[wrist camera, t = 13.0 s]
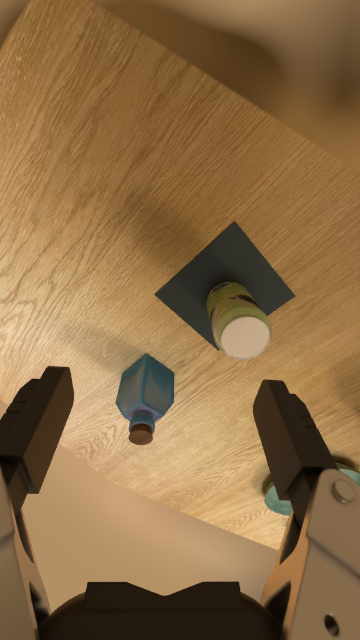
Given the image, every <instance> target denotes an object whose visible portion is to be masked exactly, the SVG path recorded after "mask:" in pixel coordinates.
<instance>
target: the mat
mask: <svg viewBox="0 0 360 640" xmlns="http://www.w3.org/2000/svg"><path fill="white" fill-rule="evenodd" d="M225 282H235V283H238V284H240V285H242V286H243V287H244V288H245V289H246V290H247V291H248V292H249V294H250V295H251V296H252V297H253V299H254V300H255V301H256V303H257V304H258V305H259V306H260V308H261V309H262V310H263V312H264V313H265V314H266V316H268V315H269V314H271V313H272V312H273V311H275V310H276V309H278V308H279V307H280V306H282V305H283V304H285V303H286V302H287V301H289V300H290V299H292V298H293V297H295V295H294V294H293V293H292V292H291V290H290V289H289V288H288V287H287V285H286V284H285V283H284V282H283V280H282V279H281V278H280V277H279V275H278V274H277V273H276V272H275V271H274V269H273V268H272V267H271V266H270V264H269V263H268V262H267V261H266V259H265V258H264V257H263V256H262V254H261V253H260V252H259V251H258V250H257V248H256V247H255V246H254V245H253V243H252V242H251V241H250V240H249V238H248V237H247V236H246V235H245V233H244V232H243V231H242V230H241V229H240V227H239V226H238V225H237V224H236V222H235V221H234V222H233V223H232V224H231V225H230V226H229V227H228V228H227V229H226V230H225V231H224V232H222V233H221V234H220V235H219V236H218V237H217V238H216V239H215V240H214V241H213V242H212V243H210V244H209V245H208V246H207V247H206V248H205V249H204V250H203V251H202V252H201V253H200V254H198V255H197V256H196V257H195V258H194V259H193V260H192V261H191V262H190V263H189V264H188V265H186V266H185V267H184V268H183V269H182V270H181V271H180V272H179V273H178V274H177V275H176V276H174V277H173V278H172V279H171V280H170V281H169V282H168V283H167V284H166V285H165V286H164V287H162V288H161V289H160V290H159V291H158V292H157V293H156V294H155V296H157V297H158V298H159V299H160V300H161V301H162V302H163V303H165V304H166V305H167V306H168V307H169V308H170V309H171V310H173V311H174V312H175V313H176V314H177V315H178V316H179V317H181V318H182V319H183V320H184V321H185V322H186V323H187V324H189V325H190V326H191V327H192V328H193V329H194V330H195V331H197V332H198V333H199V334H200V335H201V336H202V337H203V338H205V339H206V340H207V341H208V342H209V343H210V344H212V345H213V346H214V347H215V348H216V349H217V350H218V351H219V350H220V349H219V348H218V346H217V345H216V343H215V340H214V336H213V332H212V328H211V323H210V319H209V315H208V311H207V305H206V303H207V298H208V295H209V293H210V292H211V290H212V289H213V288H214V287H216V286H217V285H219V284H221V283H225Z"/></svg>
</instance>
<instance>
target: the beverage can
mask: <svg viewBox="0 0 360 640" xmlns="http://www.w3.org/2000/svg"><path fill="white" fill-rule="evenodd" d="M206 305H207V311H208V315H209V319H210V323H211V328H212V332H213V336H214V340H215V343H216V345H217V346H218V348H219V349H220V350H221V351H222V352H223V353H225V354H227V355H229V356H230V357H232V358H235V359H239V360H248V359H252V358H254V357H257V356H258V355H260V354H261V353H262V352H263V351H264V350H265V349H266V347H267V346H268V343H269V340H270V336H271V324H270V321H269V319H268V317H267V316H266V314H265V313H264V312H263V310H262V309H261V308H260V306H259V305H258V304H257V303H256V301H255V300H254V299H253V297H252V296H251V295H250V294H249V292H248V291H247V290H246V289H245V288H244V287H243V286H242V285H240V284H238V283H235V282H225V283H221V284H219V285H217V286H216V287H214V288H213V289H212V290H211V292H210V293H209V295H208V298H207V303H206Z"/></svg>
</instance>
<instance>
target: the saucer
mask: <svg viewBox="0 0 360 640" xmlns="http://www.w3.org/2000/svg"><path fill="white" fill-rule="evenodd" d="M336 465H337V467H338V469H339V470H340V471H341V472H343V473H345V474H347V475H348V476H350V477H351V478H352V479H353V480H354V481H355V482H356V483H357V484H358V485H359V486H360V472H358V471H357V470H355V469H353V468H351V467H349V466H346V465H343V464H340V463H336ZM265 504H266V506H267V507H268V508H269V509H270V510H272V511H274V512H276V513H278V514H282V515H286V516H290V513H291V511H292V510H293V508H292V505H291V502H290V501H279V499H278V496H277V492H276V489H275V486H274V482H273V480H272V482H271V483H270V484H269V486H268V488H267V490H266V493H265Z"/></svg>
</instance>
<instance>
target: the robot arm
mask: <svg viewBox="0 0 360 640" xmlns="http://www.w3.org/2000/svg"><path fill="white" fill-rule="evenodd" d="M73 401H74V389H73V384H72V378H71V372H70V368H69V367H57V366H48V367H47V368H46V369H45V371H44V373H43V375H42V376H41V378H40V379H31V380H30V381H29V382H28V383H26V384H25V385H24V386H23V387H22V388H20V390H19V391H18V393H17V394H16V396H15V398H14V399H13V402H12V403H11V404H10V405H9V407H8V409H7V410H6V413H5V414H4V415H3V416H2V418H1V420H0V640H360V486H359V485H358V484H357V483H356V482H355V481H354V480H353V479H352V478H351V477H350V476H348V475H347V474H345V473H343V472H341V471H340V470H339V469H338V467H337V465H336V463H335V461H334V459H333V458H332V456H331V454H330V452H329V450H328V448H327V446H326V444H325V442H324V440H323V438H322V436H321V434H320V432H319V430H318V429H317V428H316V425H315V423H314V421H313V419H312V418H311V415H310V413H309V411H308V409H307V407H306V405H305V404H304V403H303V402H302V401H301V400H300V399H299V398H298V397H297V396H296V394H290V393H289V391H288V389H287V387H286V385H285V383H284V382H283V381H282V380H263V381H262V383H261V386H260V388H259V391H258V393H257V396H256V398H255V401H254V404H253V415H254V419H255V423H256V426H257V429H258V433H259V436H260V439H261V443H262V446H263V449H264V452H265V456H266V459H267V462H268V466H269V469H270V472H271V476H272V479H273V482H274V486H275V489H276V492H277V496H278V499H279V501H290V502H291V505H292V508H293V510H292V511H291V513H290V517H289V520H288V523H287V526H286V530H285V533H284V536H283V540H282V543H281V546H280V549H279V553H278V556H277V559H276V563H275V565H274V568H273V570H272V572H271V574H270V576H269V578H268V580H267V583H266V585H265V588H264V590H263V593H262V597H261V599H260V603H258V602H257V601H256V600H254V599H253V598H251V597H250V596H247V595H246V594H244V593H242V592H240V586H239V582H201V583H199V584H196V585H194V586H191V587H188V588H186V589H183V590H181V591H178V592H176V593H173V594H171V595H167V596H162V595H159V594H156V593H153V592H151V591H148V590H146V589H143V588H141V587H138V586H135V585H133V584H130V583H128V582H88V583H87V588H86V592H84V593H82V594H79V595H77V596H75V597H73V598H72V599H70V600H68V601H67V602H65V603H64V604H62V605H61V606H60V607H59V608H57V609H56V610H55V611H54V612H53V613H51V609H50V606H49V602H48V598H47V594H46V591H45V587H44V584H43V581H42V578H41V576H40V573H39V571H38V567H37V564H36V561H35V557H34V553H33V549H32V545H31V542H30V538H29V534H28V531H27V526H26V523H25V519H24V515H23V511H22V505H23V503H24V500H25V498H26V496H27V494H39V491H40V489H41V486H42V483H43V481H44V478H45V476H46V473H47V471H48V468H49V466H50V463H51V460H52V457H53V455H54V453H55V450H56V448H57V444H58V442H59V440H60V437H61V435H62V432H63V430H64V427H65V424H66V422H67V419H68V417H69V414H70V412H71V409H72V406H73Z"/></svg>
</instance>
